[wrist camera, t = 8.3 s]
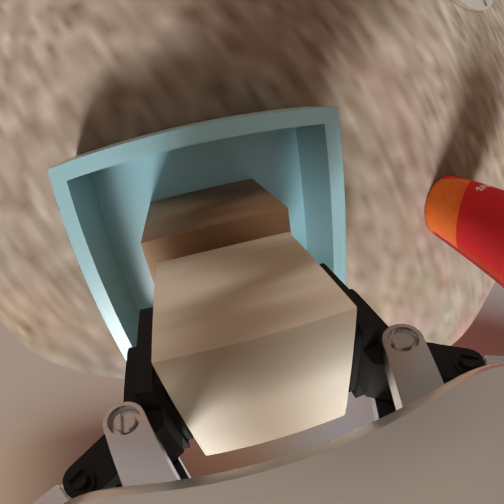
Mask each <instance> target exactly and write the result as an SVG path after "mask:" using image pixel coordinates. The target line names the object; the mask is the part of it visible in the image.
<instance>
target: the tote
mask: <svg viewBox="0 0 504 504" xmlns="http://www.w3.org/2000/svg"><path fill="white" fill-rule="evenodd" d="M48 174H49V177H50V181H51V184H52V188H53V191H54V195H55V198H56V201H57V204H58V207H59V210H60V213H61V216H62V219H63V222H64V225H65V228H66V231H67V234H68V236H69V239H70V242H71V245H72V247H73V250H74V252H75V255H76V257H77V260H78V262H79V265H80V267H81V270H82V272H83V274H84V277H85V279H86V281H87V284H88V286H89V288H90V291H91V293H92V295H93V297H94V299H95V301H96V304H97V306H98V308H99V310H100V312H101V314H102V316H103V318H104V320H105V322H106V324H107V326H108V328H109V330H110V332H111V334H112V336H113V338H114V340H115V342H116V343H117V345H118V347H119V349H120V351H121V353H122V354H123V356H124V358H125V360H126V361H127V352H128V349H129V348H131V347H135V346H137V335H138V323H139V313H140V310H141V309H145V308H150V307H153V305H154V289H155V285H154V282H153V279H152V276H151V273H150V270H149V268H148V265H147V262H146V259H145V256H144V252H143V249H142V246H141V240H142V235H143V231H144V226H145V222H146V218H147V214H148V210H149V206H150V202H153V201H157V200H160V199H164V198H168V197H172V196H176V195H180V194H184V193H189V192H193V191H197V190H201V189H206V188H210V187H215V186H219V185H224V184H228V183H233V182H238V181H242V180H247V179H254V180H255V181H256V182H257V183H258V184H260V185H261V186H262V187H263V188H264V189H266V190H267V191H268V192H269V193H271V194H272V195H273V196H274V197H275V198H277V199H278V200H279V201H280V202H281V203H282V204H284V205H285V206H286V207H287V208H288V211H289V220H290V229H291V234H292V236H293V237H294V238H295V239H296V240H297V241H298V242H299V243H300V244H301V245H302V246H303V247H304V249H305V250H306V251H307V252H308V253H309V254H310V255H311V256H312V257H313V258H314V259H315V261H316V262H317V263H318V264H321V263H324V264H326V265H327V266H328V267H329V269H330V270H331V271H332V272H333V273H334V274H335V275H336V276H337V277H338V278H339V279H340V280H341V281H342V282H343V283H344V284H345V285H346V219H345V192H344V174H343V159H342V146H341V134H340V124H339V114H338V107H335V106H311V107H293V108H284V109H275V110H267V111H260V112H253V113H246V114H240V115H234V116H228V117H222V118H217V119H211V120H206V121H201V122H196V123H192V124H187V125H182V126H178V127H174V128H169V129H165V130H161V131H157V132H153V133H149V134H146V135H142V136H138V137H134V138H131V139H127V140H124V141H121V142H117V143H114V144H111V145H107V146H104V147H101V148H98V149H95V150H92V151H89V152H86V153H83V154H80V155H77V156H75V157H73V158H70V159H68V160H66V161H64V162H62V163H60V164H58V165H56V166H54V167H52V168H50V169H48Z"/></svg>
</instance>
